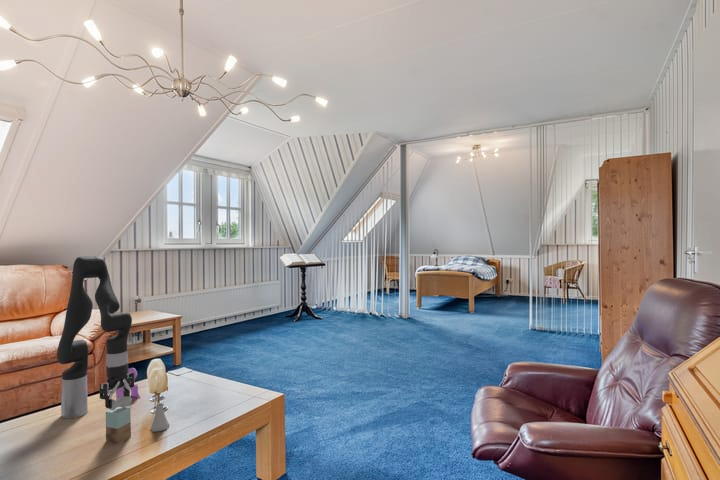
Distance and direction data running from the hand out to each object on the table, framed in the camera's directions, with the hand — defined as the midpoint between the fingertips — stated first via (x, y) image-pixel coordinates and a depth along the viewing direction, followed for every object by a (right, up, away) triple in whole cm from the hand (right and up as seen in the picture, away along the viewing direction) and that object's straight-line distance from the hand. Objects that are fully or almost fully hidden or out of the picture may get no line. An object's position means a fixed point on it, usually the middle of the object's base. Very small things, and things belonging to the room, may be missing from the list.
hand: (117, 403), depth 160 cm
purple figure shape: (-18, -14, +38) cm, 44 cm away
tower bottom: (0, -14, 0) cm, 14 cm away
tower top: (0, -8, 0) cm, 8 cm away
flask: (+12, -14, +9) cm, 21 cm away
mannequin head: (+1, -2, 0) cm, 2 cm away
